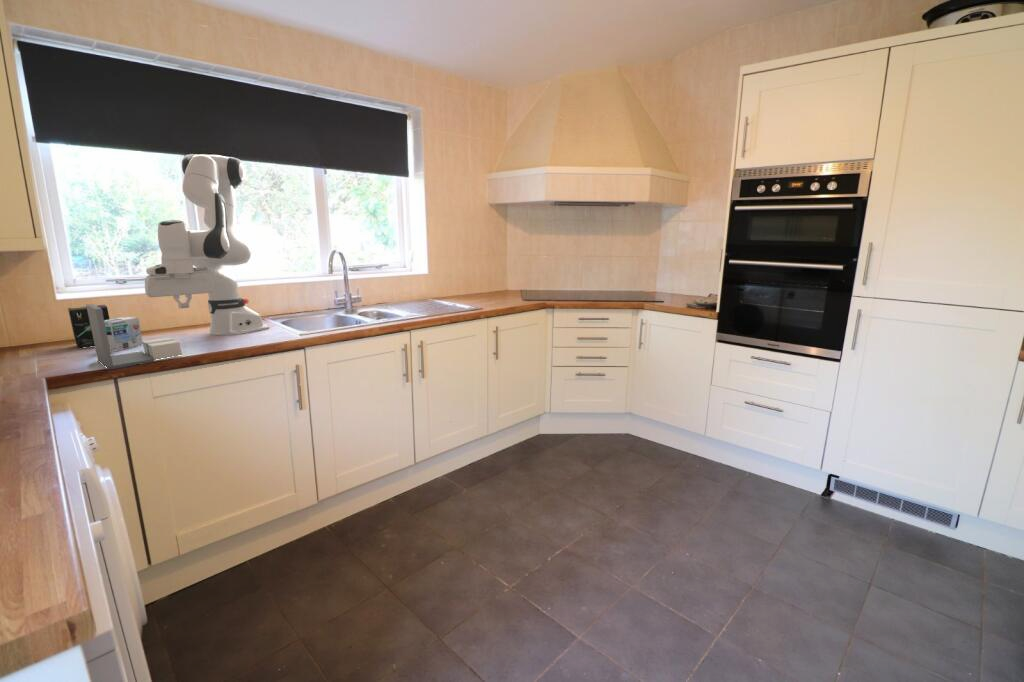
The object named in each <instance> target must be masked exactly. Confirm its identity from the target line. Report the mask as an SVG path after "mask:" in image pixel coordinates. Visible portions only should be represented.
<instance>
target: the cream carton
mask: <svg viewBox="0 0 1024 682" xmlns="http://www.w3.org/2000/svg"><path fill="white" fill-rule="evenodd" d="M142 341H143V345H142V346H143V352H144V353H145V354H147V355H148V356H150V357H152V358H153V359H154V360H155V361H157V360H156V359H161V358H167V357H172V356H178V355H182V356H183V354H182V353H183V352H182V349H181V342H180V341H178V340H176V339H175V338H173V337H170V336H169V337H162V338H155V339H154V338H153V339H147V340H142ZM167 359H168V358H167ZM161 360H162V359H161Z"/></svg>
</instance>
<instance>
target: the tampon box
mask: <svg viewBox="0 0 1024 682" xmlns="http://www.w3.org/2000/svg"><path fill="white" fill-rule="evenodd" d="M94 305H95V304H94ZM95 306H97V307H99V308H101V309H102V313H103V318H104V320H109V319H111V318H110V314H109V309H108V307H107V305H106V304H99V305H95ZM67 310H68V314H69V319H70V325H71V329H72V333H73V336H74V337H73V338H74V341H75V344H76V347H77V349H78V348H83V347H90V346H95V344H94V339H93V335H92V330H91V325H90V320H89V316H88V311H87V306H77V307H68V308H67ZM90 348H91V347H90ZM83 349H84V348H83Z"/></svg>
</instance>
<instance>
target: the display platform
mask: <svg viewBox="0 0 1024 682" xmlns="http://www.w3.org/2000/svg"><path fill="white" fill-rule="evenodd" d="M85 305H86V306H87V311H88V316H89V320H90V325H91V330H92V335H93V339H94V344H95V347H94V348H95V352H96V358H97V362H99V361H100V362H101V363H102V364H103V365H104V366H106V367H107V369H106V370H113V369H114V370H116V369H120V368H121V369H122V368H126V367H131V366H132V367H133V366H137V365H136V364H139V365H142V364H141V363H144V364H149V362H150V363H154V362H155V361H154V359H153V358H152V357H150V356H148V355H147V354H145V352H144V351H140V350H139V351H136V352H129V353H123V354H116V355H112V352H111V351H110V347H109V342H108V337H107V332H106V327H105V323H104V318H103V313H102V309H101V308H99V307H97V306H95V304H93V303H89V304H85ZM100 362H99V363H100ZM101 363H100V364H101ZM102 364H101V365H102ZM103 365H102V366H103ZM104 366H103V367H104Z"/></svg>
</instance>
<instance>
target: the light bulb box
mask: <svg viewBox="0 0 1024 682" xmlns="http://www.w3.org/2000/svg"><path fill="white" fill-rule="evenodd" d="M104 323H105V327H106V332H107V337H108V342H109V347H110V350H119V351H122V350H121V349H123V350H126V349H125V348H127V349H130V348H129V347H131V348H135V347H134V346H136V347H139V346H138V345H140V346H143V345H142V344H143V341H144V340H143V336H142V330H141V326H140V319H139V317H138V316H134V317H133V316H122V317H117V318H110V319H109V320H104Z"/></svg>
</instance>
